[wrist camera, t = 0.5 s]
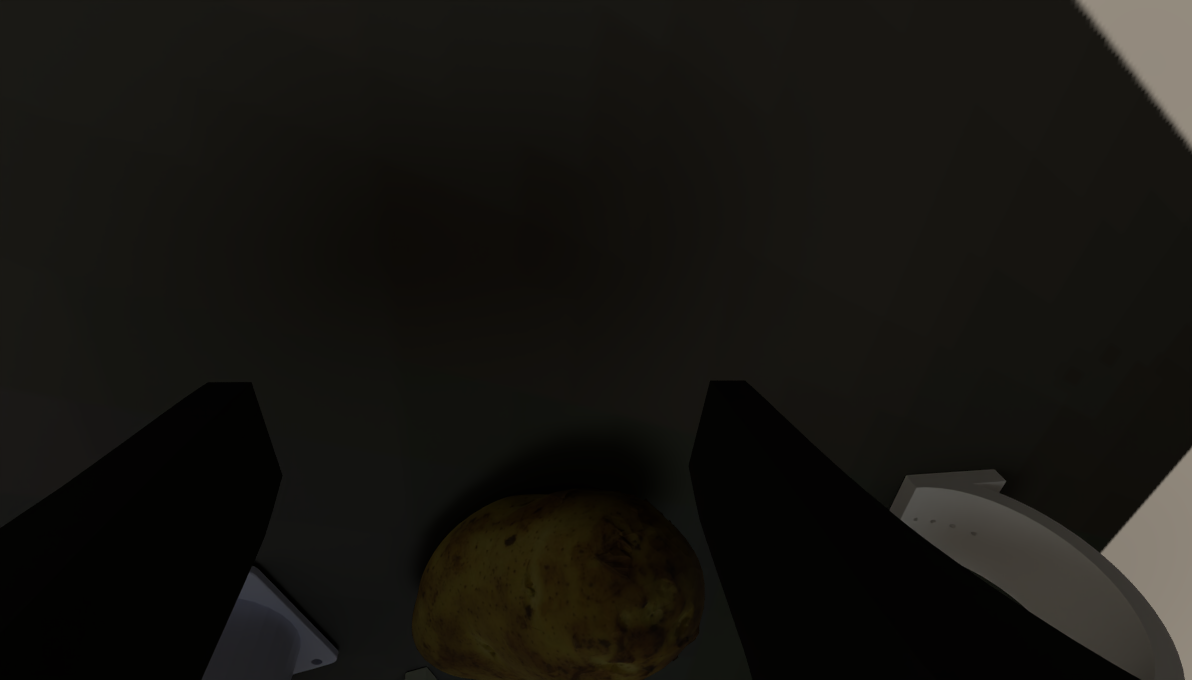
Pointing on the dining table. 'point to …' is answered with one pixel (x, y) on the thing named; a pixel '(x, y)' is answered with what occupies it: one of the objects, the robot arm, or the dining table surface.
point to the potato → (559, 590)
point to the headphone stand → (1039, 567)
